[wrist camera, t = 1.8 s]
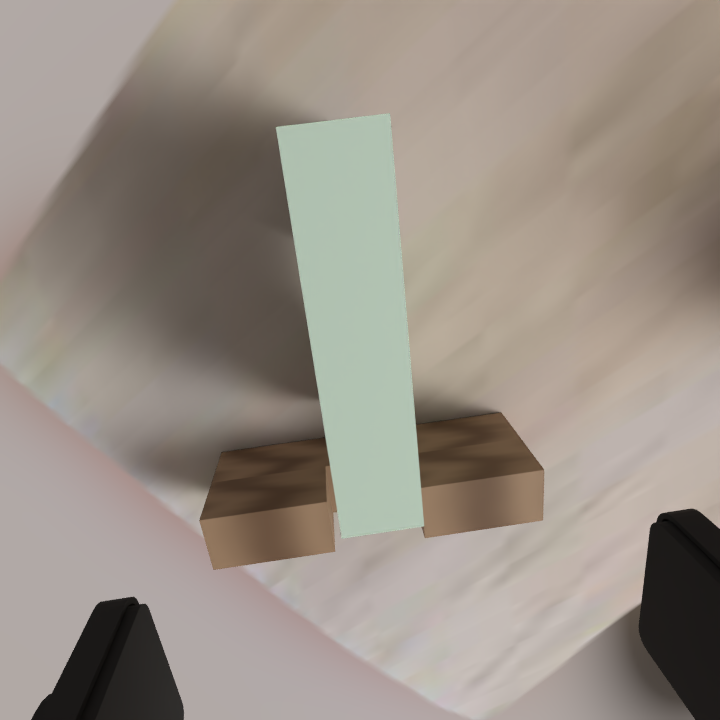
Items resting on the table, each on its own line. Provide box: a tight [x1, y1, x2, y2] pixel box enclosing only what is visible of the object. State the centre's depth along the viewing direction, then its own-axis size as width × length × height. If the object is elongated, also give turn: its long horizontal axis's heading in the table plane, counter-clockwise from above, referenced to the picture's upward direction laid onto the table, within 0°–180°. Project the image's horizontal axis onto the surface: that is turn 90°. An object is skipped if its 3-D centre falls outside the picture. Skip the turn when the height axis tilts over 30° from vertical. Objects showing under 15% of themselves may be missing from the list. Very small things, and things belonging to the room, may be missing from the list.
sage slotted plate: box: [276, 113, 424, 539], centre depth 28 cm, size 18×4×15 cm, turn 6°
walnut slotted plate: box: [199, 413, 544, 570], centre depth 36 cm, size 22×4×8 cm, turn 96°
